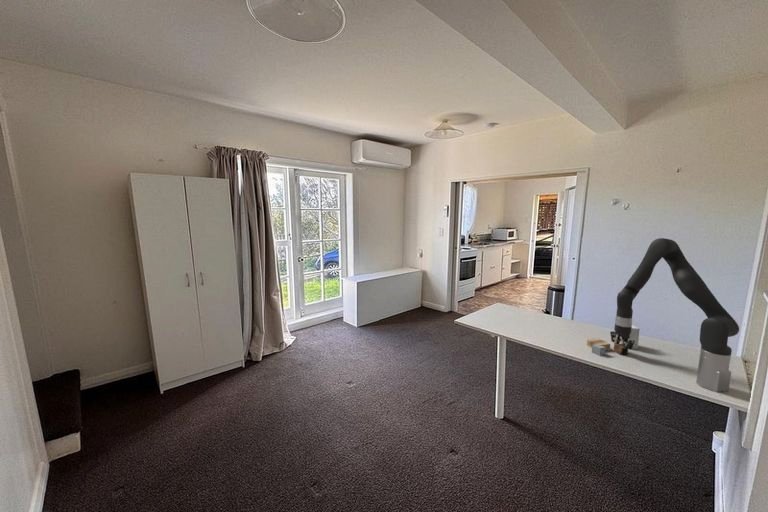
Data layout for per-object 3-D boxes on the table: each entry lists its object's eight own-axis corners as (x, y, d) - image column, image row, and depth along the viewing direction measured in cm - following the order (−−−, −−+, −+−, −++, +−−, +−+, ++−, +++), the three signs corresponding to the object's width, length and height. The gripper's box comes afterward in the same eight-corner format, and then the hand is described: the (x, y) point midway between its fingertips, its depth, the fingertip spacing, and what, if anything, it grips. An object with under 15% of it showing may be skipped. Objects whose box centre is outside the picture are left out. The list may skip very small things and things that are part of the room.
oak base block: (609, 350, 175) (610, 343, 174) (598, 351, 173) (598, 345, 173) (598, 344, 183) (598, 338, 182) (586, 345, 181) (587, 339, 181)
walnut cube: (627, 354, 169) (628, 347, 168) (620, 355, 168) (621, 347, 168) (620, 351, 173) (621, 343, 172) (613, 351, 173) (614, 344, 172)
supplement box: (638, 349, 175) (640, 328, 173) (623, 348, 177) (625, 327, 175) (630, 343, 182) (632, 324, 181) (616, 342, 184) (618, 323, 182)
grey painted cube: (604, 354, 169) (605, 347, 169) (599, 355, 168) (600, 348, 167) (596, 351, 173) (597, 344, 173) (591, 352, 172) (592, 345, 171)
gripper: (641, 328, 162) (638, 357, 164) (618, 319, 176) (615, 346, 178) (628, 329, 161) (625, 358, 163) (606, 320, 175) (604, 347, 177)
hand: (620, 352), depth 171 cm, fingers closed on walnut cube, 4 cm apart
